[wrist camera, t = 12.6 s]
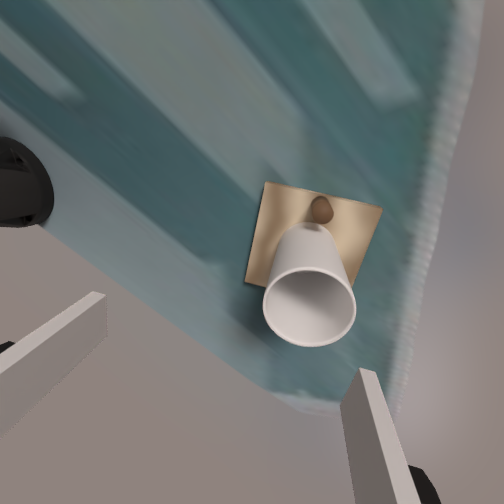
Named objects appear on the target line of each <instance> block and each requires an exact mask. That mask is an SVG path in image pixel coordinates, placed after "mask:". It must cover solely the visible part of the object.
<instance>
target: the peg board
mask: <svg viewBox="0 0 504 504" xmlns="http://www.w3.org/2000/svg"><path fill="white" fill-rule="evenodd" d="M382 211H383V209H382V208H381V207H380V206H376V205H371V204H367V203H363V202H358V201H354V200H349V199H345V198H341V197H336V196H332V195H327V194H323V193H318V192H314V191H310V190H305V189H301V188H296V187H292V186H288V185H283V184H279V183H274V182H270V181H267V182H265V187H264V192H263V197H262V201H261V206H260V211H259V216H258V220H257V225H256V230H255V235H254V239H253V244H252V249H251V254H250V259H249V263H248V268H247V273H246V278H245V282H248V283H252V284H255V285H259V286H263V287H267V283H268V279H269V276H270V272H271V269H272V265H273V262H274V258H275V255H276V251H277V248H278V244H279V241H280V238H281V236H282V235H283V233H284V232H285V231H286V230H287V229H288V228H290V227H291V226H293V225H295V224H298V223H302V222H312V223H316V224H319V225H321V226H323V227H324V228H326V229H327V230H328V231H329V232H330V233H331V235H332V236H333V238H334V241H335V244H336V247H337V249H338V252H339V255H340V258H341V261H342V264H343V266H344V269H345V272H346V275H347V278H348V280H349V283H350V286H351V288H352V285H353V283H354V280H355V278H356V275H357V273H358V270H359V268H360V266H361V263H362V261H363V258H364V256H365V253H366V251H367V248H368V246H369V243H370V241H371V238H372V236H373V233H374V231H375V228H376V226H377V223H378V221H379V218H380V216H381V213H382Z"/></svg>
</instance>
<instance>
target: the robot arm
mask: <svg viewBox="0 0 504 504" xmlns="http://www.w3.org/2000/svg"><path fill="white" fill-rule="evenodd" d="M52 207H53V189H52V185H51V181H50V179H49V176H48V174H47V172H46V170H45V168H44V166H43V165H42V163H41V162H40V161H39V159H38V158H37V157H36V156H35V155H34V153H33V152H32V151H30V150H29V149H28V148H27V147H26V146H24V145H23V144H21V143H19V142H18V141H15V140H13V139H10V138H6V137H0V227H16V228H19V227H27V226H31V225H35V224H39V223H41V222H43V221H44V220H45V219H46V218H47V217H48V216H49V214H50V213H51V210H52ZM106 337H107V303H106V295H104V294H101V293H98V292H94V291H92V292H91V293H89V294H88V295H87V296H85V297H84V298H82V299H81V300H79V301H78V302H76V303H75V304H73V305H72V306H70V307H69V308H67V309H66V310H64V311H63V312H61V313H60V314H58V315H57V316H56V317H54V318H53V319H51V320H50V321H48V322H47V323H45V324H44V325H42V326H41V327H39V328H38V329H36V330H35V331H33V332H32V333H30V334H29V335H27V336H26V337H24V338H23V339H21V340H20V341H19V342H17V343H14V342H11V341H8V342H6V343H4V344H1V345H0V439H1V438H2V437H3V436H4V435H5V434H6V433H7V432H8V431H9V430H10V429H11V428H12V427H13V426H14V425H16V423H18V422H19V421H20V420H21V419H22V418H23V417H24V416H25V415H26V414H27V413H28V412H29V411H30V410H31V409H32V408H33V407H34V406H35V405H36V404H37V403H38V402H39V401H40V400H42V398H44V397H45V396H46V395H47V394H48V393H49V392H50V391H51V390H52V389H53V388H54V387H55V386H56V385H57V384H58V383H59V382H60V381H61V380H62V379H63V378H64V377H65V376H66V375H67V374H69V373H70V371H72V370H73V369H74V368H75V367H76V366H77V365H78V364H79V363H80V362H81V361H82V360H83V359H84V358H85V357H86V356H87V355H88V354H89V353H90V352H91V351H92V350H93V349H94V348H96V347H97V346H98V345H99V343H101V342H102V341H103V340H104V339H105V338H106ZM340 410H341V416H342V422H343V429H344V435H345V441H346V447H347V453H348V459H349V466H350V472H351V478H352V484H353V490H354V496H355V503H356V504H441V502H440V499H439V497H438V494H437V492H436V489H435V488H434V486H433V485H432V483H431V482H430V480H429V479H428V477H427V476H426V474H425V473H424V471H423V470H422V469H420V468H417V467H413V466H410V465H407V462H406V459H405V456H404V453H403V450H402V448H401V445H400V442H399V439H398V436H397V433H396V430H395V427H394V425H393V422H392V419H391V416H390V413H389V410H388V407H387V404H386V401H385V399H384V396H383V393H382V390H381V387H380V384H379V381H378V378H377V376H376V373H375V372H373V371H370V370H366V369H363V368H359V369H358V371H357V373H356V375H355V377H354V379H353V381H352V383H351V385H350V387H349V389H348V391H347V393H346V395H345V397H344V398H343V400H342V402H341V404H340Z"/></svg>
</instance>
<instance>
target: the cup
mask: <svg viewBox="0 0 504 504" xmlns="http://www.w3.org/2000/svg"><path fill="white" fill-rule="evenodd" d="M263 313H264V316H265V319H266V321H267V323H268V325H269V326H270V328H271V329H272V330H273V331H274V332H275V333H276V334H277V335H278V336H279V337H281V338H282V339H284V340H286V341H288V342H290V343H292V344H296V345H299V346H305V347H318V346H324V345H327V344H330V343H333V342H335V341H337V340H338V339H340V338H341V337H343V336H344V335H345V334H346V333H347V332H348V331H349V329H350V328H351V326H352V324H353V322H354V319H355V315H356V303H355V298H354V295H353V292H352V289H351V286H350V283H349V280H348V278H347V275H346V272H345V269H344V266H343V264H342V261H341V258H340V255H339V252H338V249H337V247H336V244H335V241H334V238H333V236H332V235H331V233H330V232H329V231H328V230H327V229H326V228H324V227H323V226H321V225H319V224H316V223H312V222H302V223H298V224H295V225H293V226H291V227H290V228H288V229H287V230H286V231H285V232H284V233H283V235H282V236H281V238H280V241H279V244H278V248H277V251H276V255H275V258H274V262H273V265H272V269H271V272H270V276H269V279H268V283H267V287H266V290H265V294H264V298H263Z"/></svg>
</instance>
